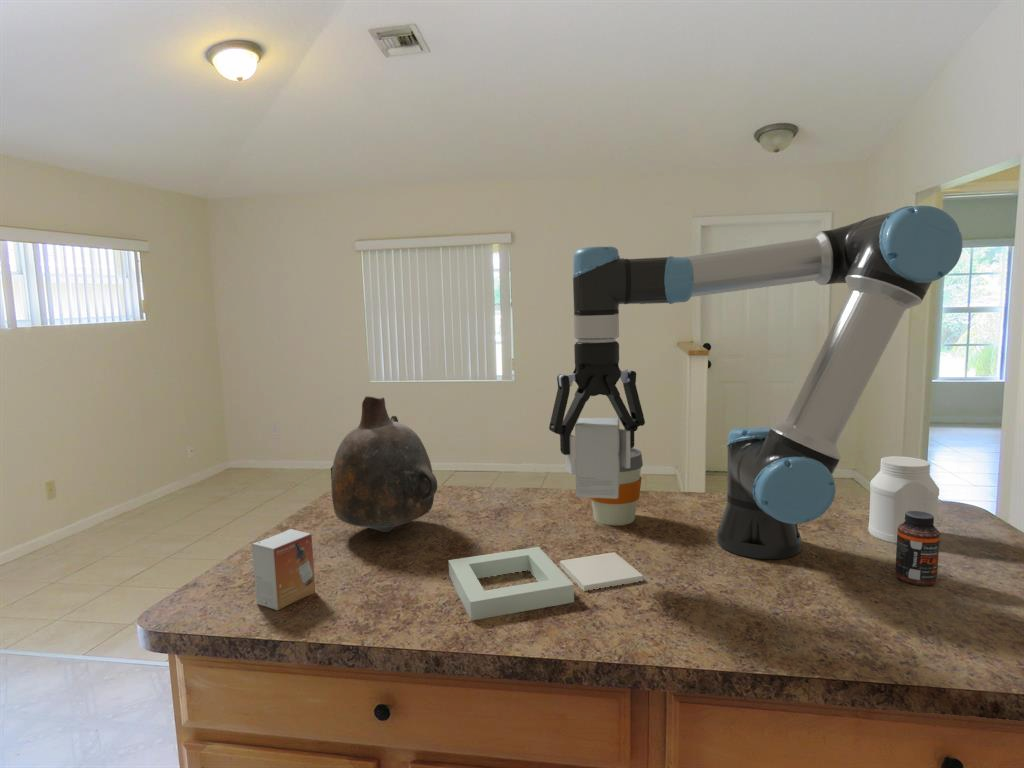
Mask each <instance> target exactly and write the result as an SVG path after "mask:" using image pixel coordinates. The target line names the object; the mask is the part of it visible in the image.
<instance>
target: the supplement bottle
mask: <svg viewBox="0 0 1024 768" xmlns="http://www.w3.org/2000/svg"><path fill="white" fill-rule="evenodd" d="M933 524H934V516H933V515H931V514H929V513H926V512H921V511H907V512H906V513H905V522H904V523H902V524H900V525H899V526H898V532H897V543H896V547H895V548H896V550H895V552H896V553H895V571H894V573H895V576H896V577H897V578H898V579H899V580H901V581H903V582H905V583H908V584H911V585H915V586H922V587H923V586H924V587H925V586H932V585H935V584H936V583H937V580H938V579H937V577H938V569H939V553H940V537H941V536H940V535H941V533H940V531H939V530H938V529H936V528H935V527H934V525H933Z"/></svg>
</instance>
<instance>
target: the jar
mask: <svg viewBox="0 0 1024 768" xmlns="http://www.w3.org/2000/svg"><path fill="white" fill-rule="evenodd" d="M930 467H931V462H929V461H928V460H926V459H922V458H917V457H911V456H902V455H901V456H900V455H893V456H883V457H882V458H881V459H880V469H879V471H878V472H877V474H875V476H874V477H873V478H872V479H871V480H870V483H869V487H870V493H869V494H870V497H869V515H868V517H869V519H868V521H869V522H868V529H867V530H868V532H869V534H870V535H871V536H872V537H875V538H877V539H879V540H882V541H884V542H887V543H892V544H897V532H898V526H899V525H900V524H902V523H904V522H905V513H906V512H907V511H921V512H926V513H929V514H931V515H933V516H934V524H933V525H934V527H935V528H936V529H937V528H938V527H937V525H938V509H939V496H940V488H939V486H938V485H937V483H936V482H935V480H934V479H933V478H932V477H931V474H930V473H931V468H930ZM937 530H938V529H937Z"/></svg>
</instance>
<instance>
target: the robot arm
mask: <svg viewBox="0 0 1024 768" xmlns="http://www.w3.org/2000/svg"><path fill="white" fill-rule="evenodd" d="M963 242H964V241H963V235H962V233H961V231H960V229H959V225H958V223H957V222H956V220H955V219H954V218H953V217H952V216H951V215H950V214H948V213H947V212H946V211H944V210H943V209H942V208H941V209H940V208H939V207H935V206H931V205H915V206H914V205H911V206H910V205H909V206H908V205H907V206H902V207H900V208H897V209H895V210H894V211H890V212H886V213H882V214H879V215H874V216H871V217H867V218H865V219H861V220H859V221H857V222H853V223H851V224H847V225H845V226H840V227H837V228H834V229H828V230H820V231H817V232H815V233H814V234H813V235H812V237H811V238H806V239H797V240H792V241H785V242H778V243H777V242H776V243H772V244H765V245H764V244H763V245H758V246H750V247H744V248H737V249H729V250H724V251H717V252H715V251H714V252H710V253H709V252H708V253H703V254H696V255H690V256H680V257H679V256H677V257H676V256H675V257H674V256H671V255H670V256H666V257H644V258H620V257H621V256H620V255H619V250H618V248H617V247H614V246H587V247H581V248H579V249H577V250H576V251H575V252H574V254H573V264H572V265H573V269H572V270H573V271H572V272H573V273H572V281H573V282H572V285H573V286H572V287H573V288H572V289H573V293H572V295H573V327H574V328H573V331H574V332H573V336H574V337H573V338H575V339H576V340H577V341H576V342H575V343H574V345H573V346H574V349H573V350H574V351H573V352H574V370H573V372H572V373H569V374H561V373H559V374H558V375H557V377H556V380H557V391H556V396H555V400H554V404H553V409H552V413H551V418H550V422H549V426H548V428H549V431H551V432H552V433H554V434H556V435H559V441H560V442H559V443H560V445H559V446H560V447H559V448H560V452H561V454H562V455H565V456H564V458H565V472H567V473H568V474H570V475H576V452H575V435H572V433H573V430H574V429H575V425H576V423H577V421H578V419H579V417H580V415H581V414H582V412H583V410H584V407H585V405H586V403H587V402H588V401H589V399H590V397H597V396H601V395H602V396H606V398H608V400H609V403H610V404H611V405H612V407H613V409H614V411H615V413H616V415H617V418H619V422H620V423H621V425H622V426H623V428H619V465H621V466H623V467H625V468H630V448H635V432H636V431H638V429H639V427H643V426H645V424H646V421H645V416H644V412H643V407H642V405H641V404H642V403H641V400H640V396H639V393H638V389H637V384H636V383H637V372H636V371H634V370H629V369H625V370H621V368H620V366H619V362H620V343H619V341H617V339H619V337H620V317H619V316H620V312H619V311H620V309H619V308H620V305H635V304H636V305H638V304H639V305H646V304H647V305H648V304H649V305H650V304H651V305H652V304H653V305H654V304H669V305H672V304H678V303H686V302H688V301H690V300H691V298H692V297H693V298H694V297H700V296H708V295H709V296H710V295H716V294H722V293H730V292H738V291H745V290H747V291H748V290H753V289H761V288H769V287H776V286H782V285H783V286H784V285H791V284H797V283H805V282H813V281H814V282H816V283H817V285H821V286H825V285H833V284H846V285H847V287H848V290H849V291H848V294H847V296H846V298H845V300H844V301H843V304H842V306H841V308H840V309H839V311H838V314H837V316H836V317H835V321H834V322H833V323H832V326H831V328H830V330H829V332H828V334H827V336H826V339H825V340H824V342H823V344H822V346H821V349H820V350H819V352H818V355H817V357H816V358H815V360H814V362H813V364H812V366H811V369H810V371H809V373H808V374H807V377H805V380H804V383H803V384H802V387H801V388H800V390H799V393H798V394H797V396H796V399H795V401H794V402H793V405H792V406H791V409H790V411H789V413H788V414H787V416H786V418H785V420H784V421H783V423H782V422H781V423H779V424H776V425H773V426H771V427H769V426H767V427H766V426H765V427H764V426H763V427H762V426H750V427H735V428H732V429H731V430H730V431H729V433H728V436H727V442H726V447H727V464H726V465H727V468H726V469H727V471H726V472H727V476H726V477H727V482H726V484H727V485H726V486H727V487H726V489H727V491H726V495H727V496H726V499H727V500H726V506H725V508H724V511H723V514H722V516H721V517H722V518H721V521H720V524H719V526H718V528H717V533H716V534H717V535H716V536H717V540H716V541H717V544H718V545H719V546H720V547H721V548H723V549H724V550H726V551H727V552H730V553H732V554H735V555H739V556H742V557H746V558H752V559H757V560H758V559H761V560H781V559H789V558H791V557H794V556H796V555H798V554H799V553H800V552H801V550H802V536H801V534H800V530H799V527H798V525H799V524H800V525H801V524H805V523H809V522H812V521H815V520H817V519H819V518H820V517H822V516H823V515H824V514H825V513H826V512H827V511H828V510H829V509H830V507H831V505H832V504H833V502H834V499H835V495H836V484H835V479H834V475H833V474H834V472H835V470H836V468H837V465H838V464H839V463H840V460H841V453H840V452H839V450H838V447H837V445H838V441H839V440H840V437H841V436H842V434H843V432H844V430H845V428H846V426H847V424H848V422H849V421H850V418H851V416H852V414H853V412H854V410H855V409H856V406H857V405H858V402H860V401H859V400H860V399H861V397H862V395H863V392H864V391H865V389H866V388H867V385H868V383H869V381H870V379H871V377H872V376H873V373H874V372H875V369H876V368H877V365H878V363H879V362H880V360H881V358H882V356H883V354H884V352H885V350H886V348H887V346H888V344H889V342H890V340H891V339H892V337H893V334H894V333H895V330H896V329H897V327H898V325H899V322H900V321H901V319H902V317H903V315H904V313H905V312H906V311H907V310H908V309H911V308H913V307H917V306H918V305H921V304H922V302H923V300H924V298H925V296H926V294H927V293H928V290H929V289H930V287H931V284H932V283H933V282H934V281H938V280H940V279H942V278H943V277H945V276H946V275H948V274H949V273H950V272H951V271H952V270H953V269H954V268H955V267H956V266H957V264H958V262H959V260H960V259H961V256H962V251H963ZM619 380H620V381H621V382H622V386H623V389H624V393H625V397H626V402H627V406H628V409H629V410H628V409H627V407H626V405H625V403H624V401H623V399H622V397H621V394H620V391H619V390H618V388H617V383H618V381H619ZM573 382H575V383H576V384H577V388H576V390H575V392H574V398H573V400H572V402H571V404H570V405H569V408H568V410H567V412H566V409H567V405H568V400H569V397H570V396H569V395H570V390H571V387H572V386H573ZM565 413H566V415H565Z"/></svg>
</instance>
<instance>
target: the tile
mask: <svg viewBox="0 0 1024 768" xmlns="http://www.w3.org/2000/svg"><path fill="white" fill-rule="evenodd" d="M559 566H560V568H561V569H562V570H563V571H564V572H565V573H566V574H567V576H569V577H570V578H571V579H572V581H573V582H574V583H577V584H578V587H579V588H580V587H581V588H580V589H581V590H582V589H583V590H582V591H583V592H588V590H589V591H593V589H595V590H599V588H601V589H606V588H611V587H610V586H612V587H616V586H617V585H618V586H622V584H624V585H628V584H633V583H634V582H635V583H639V581H641V582H644V575H643V574H642V573H641V572H639V571H638V570H637V569H636V568H634V567H633V566H632V565H631V564H630V563H629V562H627V561H626V560H625V559H623V558H622V557H621V556H620V555H619V554H617V553H616V552H614V551H613V552H607V553H602V554H601V553H600V554H595V555H594V554H593V555H587V556H581V557H574V558H569V559H563V560H559ZM577 584H576V585H577ZM618 586H617V587H618ZM605 587H606V588H605Z"/></svg>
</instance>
